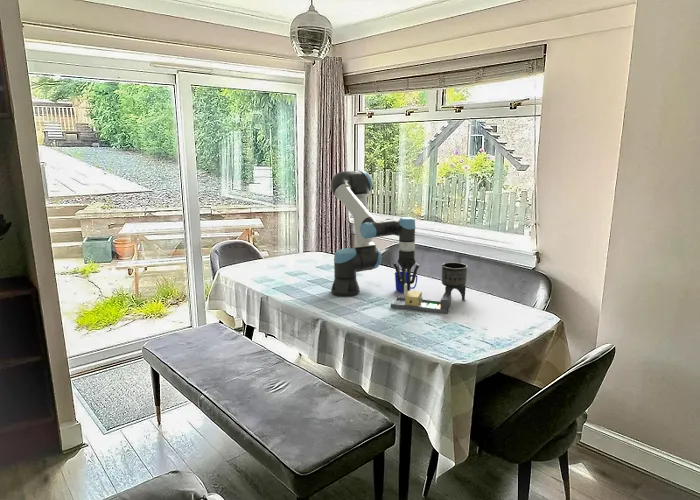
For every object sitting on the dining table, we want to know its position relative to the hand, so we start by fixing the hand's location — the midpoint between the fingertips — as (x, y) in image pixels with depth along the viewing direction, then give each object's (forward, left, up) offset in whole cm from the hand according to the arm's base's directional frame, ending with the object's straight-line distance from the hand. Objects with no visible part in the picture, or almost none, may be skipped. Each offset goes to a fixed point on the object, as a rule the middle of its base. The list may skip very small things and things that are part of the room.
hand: (406, 296), depth 232 cm
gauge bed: (+7, 0, -5) cm, 9 cm away
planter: (+20, +18, -5) cm, 28 cm away
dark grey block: (+19, 0, -5) cm, 20 cm away
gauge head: (+4, -1, -3) cm, 5 cm away
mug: (-6, +23, -5) cm, 24 cm away
